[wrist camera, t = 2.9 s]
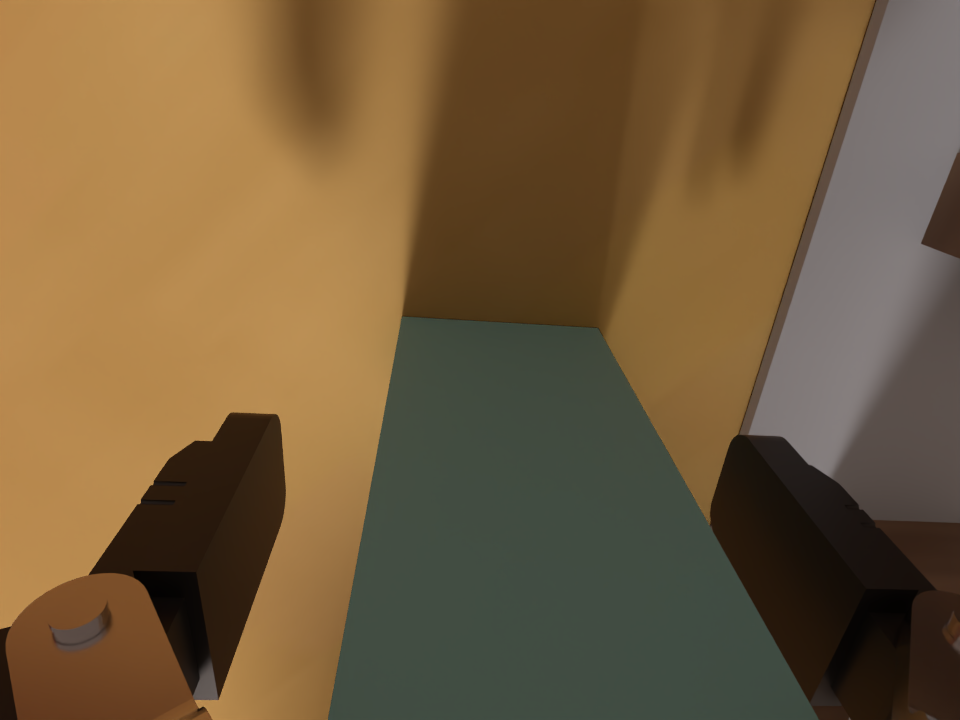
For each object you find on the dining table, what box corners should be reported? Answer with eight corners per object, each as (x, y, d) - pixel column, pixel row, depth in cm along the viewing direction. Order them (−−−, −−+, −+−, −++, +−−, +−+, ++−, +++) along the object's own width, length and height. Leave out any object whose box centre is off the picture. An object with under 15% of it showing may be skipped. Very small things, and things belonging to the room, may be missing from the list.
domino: (585, 398, 16) (810, 953, 6) (400, 389, 15) (313, 965, 6) (598, 327, 15) (887, 840, 5) (402, 316, 15) (303, 845, 5)
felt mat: (918, 709, 22) (926, 720, 22) (652, 707, 21) (656, 718, 21) (1487, -223, 11) (1522, -232, 11) (970, -299, 10) (989, -311, 10)
